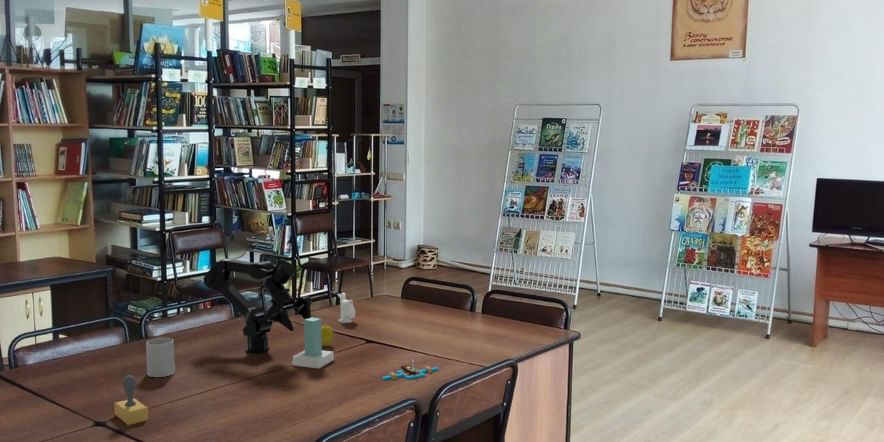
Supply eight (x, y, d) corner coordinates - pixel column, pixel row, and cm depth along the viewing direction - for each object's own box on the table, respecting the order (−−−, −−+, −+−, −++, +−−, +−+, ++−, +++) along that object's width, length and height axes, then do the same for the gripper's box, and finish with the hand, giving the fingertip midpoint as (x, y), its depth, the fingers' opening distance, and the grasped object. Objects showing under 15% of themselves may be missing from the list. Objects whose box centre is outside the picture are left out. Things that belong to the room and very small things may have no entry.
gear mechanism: (375, 376, 249) (388, 384, 241) (375, 360, 249) (388, 367, 241) (429, 366, 259) (443, 374, 252) (429, 351, 259) (443, 358, 251)
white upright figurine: (332, 321, 317) (332, 293, 316) (345, 319, 322) (345, 291, 321) (345, 325, 312) (345, 296, 310) (358, 322, 316) (358, 294, 315)
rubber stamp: (114, 415, 214) (112, 373, 213) (135, 410, 218) (133, 369, 216) (126, 425, 207) (124, 382, 205) (148, 420, 210) (146, 377, 209)
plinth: (292, 365, 259) (292, 356, 259) (308, 357, 268) (308, 348, 268) (318, 368, 256) (318, 359, 255) (333, 360, 265) (333, 351, 265)
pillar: (304, 354, 261) (304, 319, 260) (312, 351, 264) (312, 317, 263) (313, 356, 259) (313, 321, 258) (321, 353, 262) (321, 318, 261)
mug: (178, 375, 248) (177, 342, 247) (151, 380, 243) (150, 346, 242) (167, 365, 258) (166, 334, 257) (141, 370, 253) (139, 338, 252)
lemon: (330, 348, 279) (330, 327, 278) (316, 347, 280) (315, 326, 279) (335, 344, 284) (335, 323, 283) (321, 343, 285) (321, 322, 284)
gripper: (284, 300, 279) (307, 335, 275) (246, 310, 263) (270, 347, 259) (301, 282, 274) (324, 317, 270) (263, 291, 258) (287, 328, 254)
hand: (301, 327), depth 263 cm, fingers open, 9 cm apart
